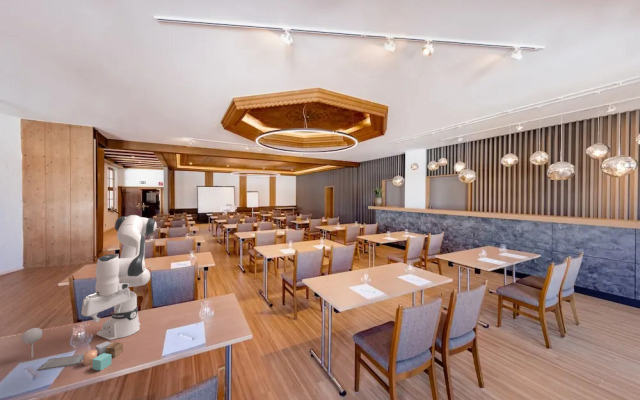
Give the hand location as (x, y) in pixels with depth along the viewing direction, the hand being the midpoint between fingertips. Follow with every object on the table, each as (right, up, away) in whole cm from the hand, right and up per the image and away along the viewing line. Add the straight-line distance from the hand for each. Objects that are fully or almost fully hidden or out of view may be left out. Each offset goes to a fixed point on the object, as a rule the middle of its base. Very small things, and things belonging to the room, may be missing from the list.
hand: (107, 317), depth 121 cm
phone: (-25, -25, +4) cm, 36 cm away
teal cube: (-3, -25, +1) cm, 25 cm away
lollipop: (-45, -24, +7) cm, 51 cm away
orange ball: (-12, -25, +4) cm, 27 cm away
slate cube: (-11, -25, +11) cm, 29 cm away
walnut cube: (-5, -25, +10) cm, 27 cm away
